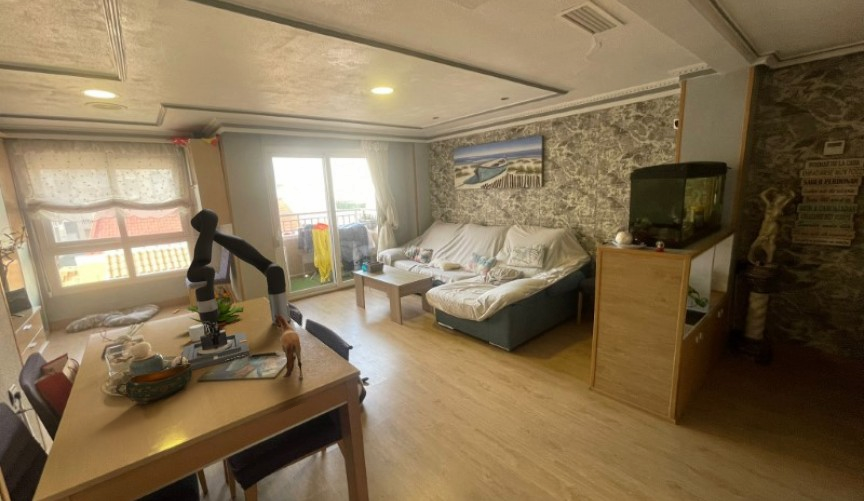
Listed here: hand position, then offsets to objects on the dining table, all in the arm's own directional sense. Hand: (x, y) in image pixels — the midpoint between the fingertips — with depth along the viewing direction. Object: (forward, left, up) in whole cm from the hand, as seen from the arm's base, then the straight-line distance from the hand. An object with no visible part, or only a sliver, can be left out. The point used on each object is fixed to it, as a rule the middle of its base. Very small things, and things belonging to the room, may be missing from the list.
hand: (214, 343), depth 162 cm
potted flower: (0, -44, -5) cm, 44 cm away
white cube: (+8, -26, -5) cm, 28 cm away
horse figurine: (-24, +41, -5) cm, 48 cm away
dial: (0, 0, -2) cm, 2 cm away
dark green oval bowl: (+18, +29, -5) cm, 34 cm away
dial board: (0, 0, -4) cm, 4 cm away
